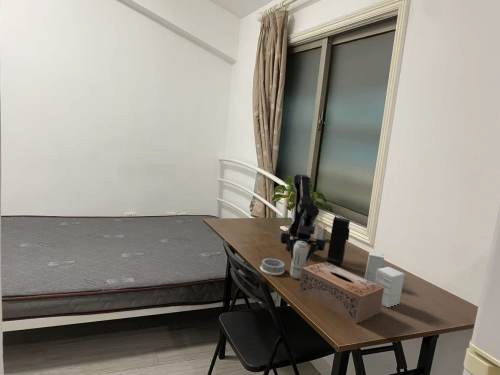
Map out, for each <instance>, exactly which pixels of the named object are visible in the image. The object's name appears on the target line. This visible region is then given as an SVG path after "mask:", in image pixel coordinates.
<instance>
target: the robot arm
mask: <svg viewBox="0 0 500 375" xmlns="http://www.w3.org/2000/svg"><path fill="white" fill-rule="evenodd" d="M311 179H312V178H311V177H309V176H308V175H305V174H297V173H295V175H293V176H292V179H291V182H292V188H293V190H294V192H295V195H294V196H295V198H294V210H293V220H292V222H291V223H290V224H289V227H288V229H287V232H284V231H283V232H281V235H280V243H281V244H283V245H286V246H285V249H286V250H287V251H288V252H289V253H290V258H291V259H292V257H293V250H294V245H295V243H296V241H304V242H307V243H308V245H309V247H310V248H309V249H308V255H307V260H306V261H307V262H308V261H309V259H310V258H311V256H312V255H313V254H314V253H316V252H318V251H321V252H325V248H326V242H327V241H326V239H325V240H323V239H318V238H316V239H315V240H312V239H311V238H312V237H311V234H314V232H315V226H316V225H315V226H313V223H314V222H316V220H317V217H318V215H319V213H320V210H319V208H318V207H317V206H316V205H315V201H314V199H312V198H311V188H310V185H311Z"/></svg>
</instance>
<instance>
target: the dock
mask: <svg viewBox="0 0 500 375" xmlns="http://www.w3.org/2000/svg"><path fill="white" fill-rule="evenodd" d="M260 264H261V265H260V268H259V269H260V271H261V272H262V273H264V274H268V275H271V276H280V275H283V274H284V273H285V262H284V261H282V260H280V259H276V258H265V259H264V258H263V259H262V260H261V263H260Z"/></svg>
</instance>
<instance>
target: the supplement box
mask: <svg viewBox="0 0 500 375" xmlns="http://www.w3.org/2000/svg"><path fill="white" fill-rule="evenodd" d="M405 275H406V274H405V273H403V272H401V271H399V270H397V269H394V268H392V267H390V266H385V267H382V268H380V269H377V273H376V279H375V284H377V285H379V286H381V287H384V291H383V296H382V302H381V304H382V305H381V306H383V305H384V306H386V307H389V308H391V306H393V307H395V306H394V305H396V306H398V305H397V304H399V305H400V302H401V295H402V291H403V286H404V280H405V277H406V276H405ZM384 306H383V307H384ZM386 307H385V308H386Z"/></svg>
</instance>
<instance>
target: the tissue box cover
mask: <svg viewBox="0 0 500 375" xmlns="http://www.w3.org/2000/svg"><path fill="white" fill-rule="evenodd" d="M383 291H384V287H381V286H379V285H377V284H375V283H372V282H370V281H368V280H366V279H364V277H361V276H359V275H357V274H355V273H352V272H350V271H349V270H345V269H344V268H342V267H341V268H339V267H337V266H335V265H332V264H330V263H328V262H327V261H322V262H319V263H315V264H311V265H306V267H303V268H302V272H301V278H300V279H299V286H298V292H299V293H301V294H302V295H304V296H306V297H307V296H308V297H307V298H309V299H311V300H312V301H314V300H315V302H316V303H318V304H320V305H322V306H323V307H325V308H327V309H328V310H330V311H332V312H334V313H336V314H337V313H338V315H339V314H340V315H339V316H341V317H343V318H344V317H345V319H346V318H347V319H346V320H348V319H349V320H348V321H350V320H351V321H353V322H355V323H358V322H360V323H362V322H364V321H366V320H368V319H370V318H372V317H374V316H373V315H375V314H377V313H379V314H380V312H381V311H380V310H381V306H382V305H381V302H382V296H383ZM377 315H378V314H377ZM371 316H372V317H371ZM375 316H376V315H375ZM369 317H370V318H369ZM367 318H368V319H367ZM365 319H366V320H365ZM363 320H364V321H363ZM351 321H350V322H351ZM361 321H362V322H361ZM353 322H352V323H353ZM355 323H354V324H355ZM358 324H359V323H358Z"/></svg>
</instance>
